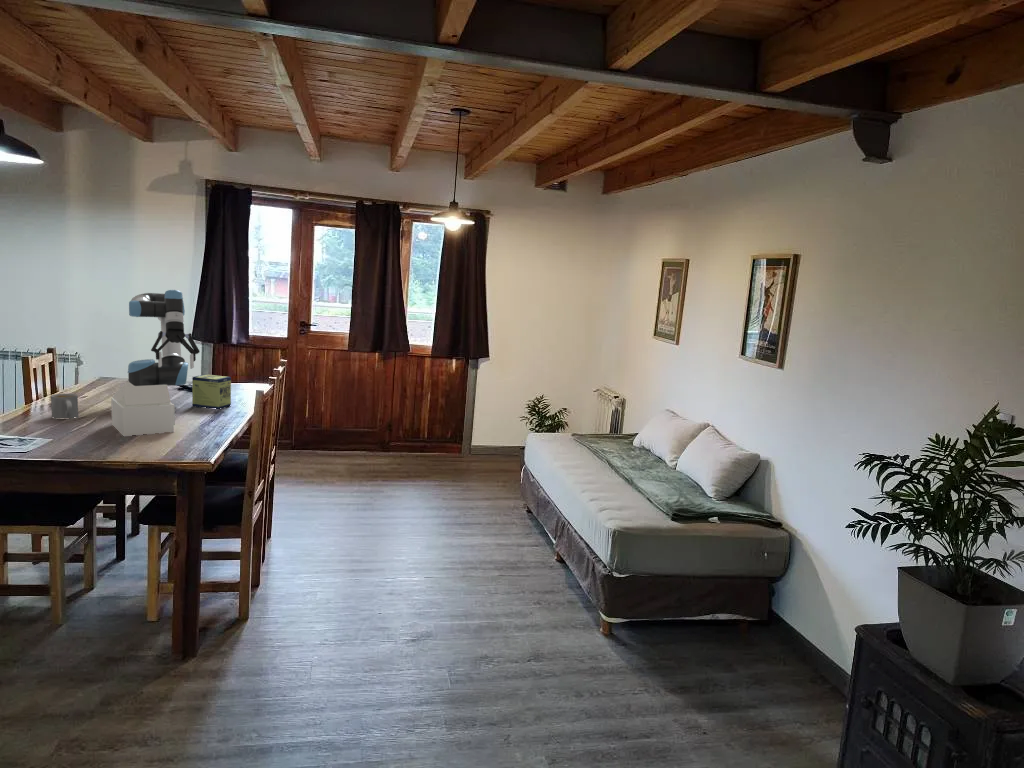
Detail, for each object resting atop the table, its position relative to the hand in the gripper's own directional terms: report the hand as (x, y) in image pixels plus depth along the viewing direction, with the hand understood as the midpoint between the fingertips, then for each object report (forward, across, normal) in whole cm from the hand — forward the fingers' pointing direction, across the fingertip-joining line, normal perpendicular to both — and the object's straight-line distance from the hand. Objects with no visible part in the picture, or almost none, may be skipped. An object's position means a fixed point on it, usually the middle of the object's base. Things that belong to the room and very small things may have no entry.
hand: (176, 367), depth 313 cm
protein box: (+12, +25, +32) cm, 42 cm away
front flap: (+21, -16, -18) cm, 32 cm away
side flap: (+17, -26, -4) cm, 31 cm away
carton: (+29, -15, -2) cm, 32 cm away
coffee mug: (+18, -39, +31) cm, 52 cm away
